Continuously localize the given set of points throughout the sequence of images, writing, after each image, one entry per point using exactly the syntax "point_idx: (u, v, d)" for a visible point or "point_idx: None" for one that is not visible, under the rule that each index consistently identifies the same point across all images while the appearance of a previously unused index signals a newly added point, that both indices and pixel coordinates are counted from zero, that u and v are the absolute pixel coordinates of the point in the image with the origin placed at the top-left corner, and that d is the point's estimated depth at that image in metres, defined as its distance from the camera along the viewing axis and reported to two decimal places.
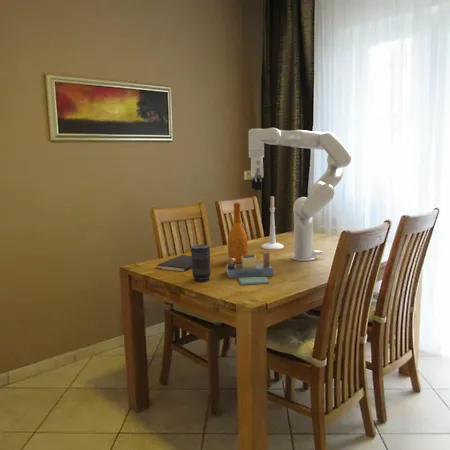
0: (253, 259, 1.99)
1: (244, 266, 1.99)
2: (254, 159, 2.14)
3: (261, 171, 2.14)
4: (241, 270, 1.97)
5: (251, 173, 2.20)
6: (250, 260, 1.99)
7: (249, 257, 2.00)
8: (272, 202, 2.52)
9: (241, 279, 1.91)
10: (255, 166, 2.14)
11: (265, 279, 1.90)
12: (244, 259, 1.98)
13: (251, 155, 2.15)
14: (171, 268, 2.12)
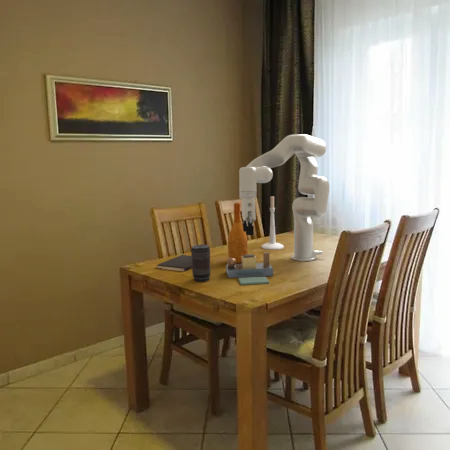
0: (253, 259, 1.99)
1: (244, 266, 1.99)
2: (245, 201, 1.93)
3: (253, 214, 1.93)
4: (241, 270, 1.97)
5: (242, 215, 1.99)
6: (250, 260, 1.99)
7: (249, 257, 2.00)
8: (272, 202, 2.52)
9: (241, 279, 1.91)
10: (246, 209, 1.92)
11: (265, 279, 1.90)
12: (244, 259, 1.98)
13: (242, 196, 1.94)
14: (171, 268, 2.12)
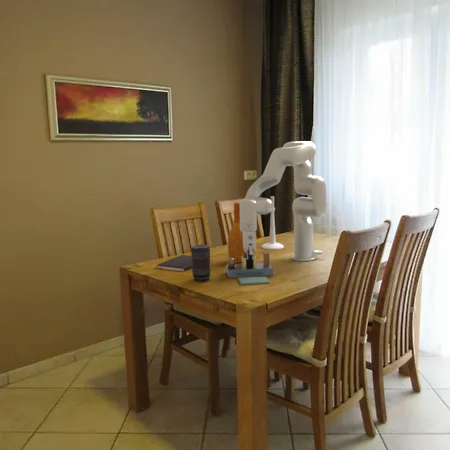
0: None
1: (244, 266, 1.99)
2: (246, 233, 1.95)
3: (254, 246, 1.95)
4: (241, 270, 1.97)
5: (243, 246, 2.02)
6: None
7: None
8: (272, 202, 2.52)
9: (241, 279, 1.91)
10: (247, 241, 1.95)
11: (265, 279, 1.90)
12: (244, 259, 1.98)
13: (243, 229, 1.96)
14: (171, 268, 2.12)
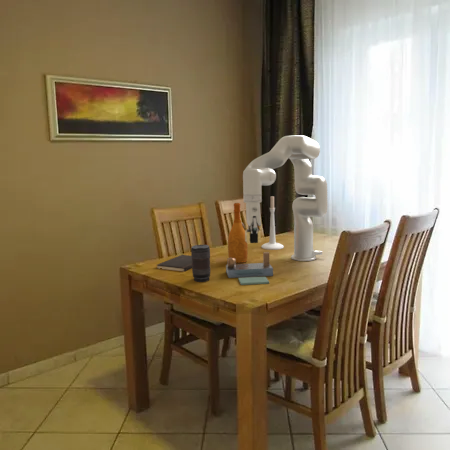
0: None
1: (248, 241, 1.85)
2: (250, 205, 1.81)
3: (258, 219, 1.81)
4: (241, 270, 1.97)
5: None
6: None
7: None
8: (272, 202, 2.52)
9: (241, 279, 1.91)
10: (251, 213, 1.81)
11: (265, 279, 1.90)
12: (248, 233, 1.84)
13: (246, 200, 1.82)
14: (171, 268, 2.12)
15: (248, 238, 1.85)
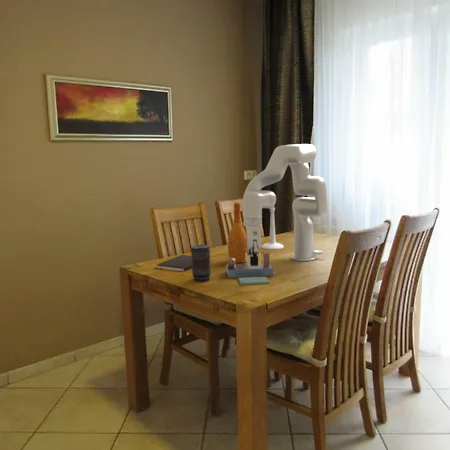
0: (258, 256, 1.86)
1: (248, 264, 1.86)
2: (250, 229, 1.82)
3: (259, 243, 1.82)
4: (241, 270, 1.97)
5: (247, 243, 1.89)
6: None
7: None
8: None
9: (241, 279, 1.91)
10: (251, 237, 1.82)
11: (265, 279, 1.90)
12: (248, 256, 1.85)
13: (247, 223, 1.83)
14: (171, 268, 2.12)
15: (248, 261, 1.86)
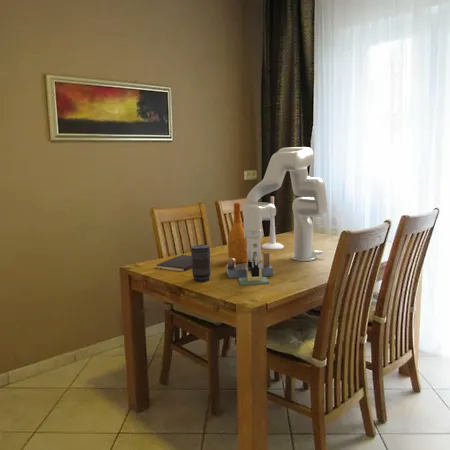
0: None
1: (248, 280, 1.87)
2: (250, 241, 1.83)
3: (259, 255, 1.83)
4: (241, 270, 1.97)
5: (247, 254, 1.90)
6: None
7: None
8: (272, 202, 2.52)
9: (241, 279, 1.91)
10: (252, 249, 1.83)
11: (265, 279, 1.90)
12: (248, 272, 1.87)
13: (247, 236, 1.84)
14: (170, 268, 2.12)
15: (249, 277, 1.87)
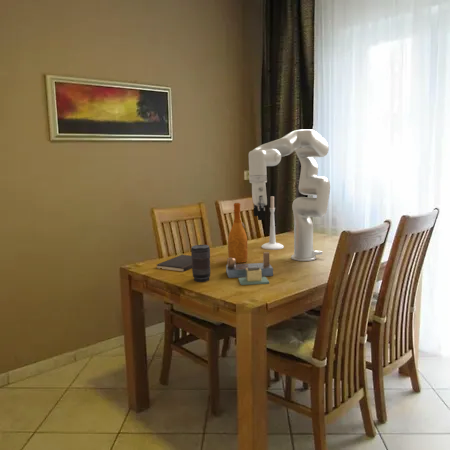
0: (258, 272, 1.87)
1: (248, 280, 1.87)
2: (256, 185, 1.89)
3: (264, 198, 1.89)
4: (241, 270, 1.97)
5: (253, 200, 1.96)
6: (255, 273, 1.87)
7: (254, 270, 1.88)
8: (272, 202, 2.52)
9: (241, 279, 1.91)
10: (257, 193, 1.89)
11: (265, 279, 1.90)
12: (248, 272, 1.87)
13: (252, 181, 1.90)
14: (170, 268, 2.12)
15: (249, 277, 1.87)
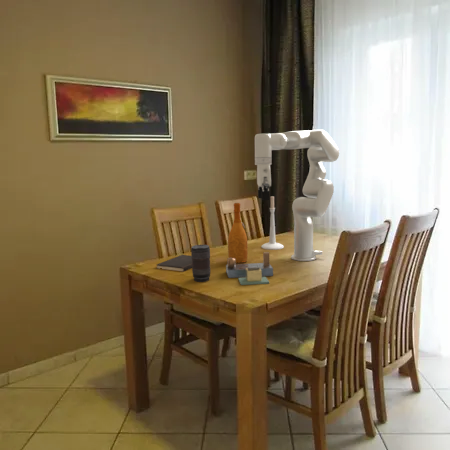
0: (258, 272, 1.87)
1: (248, 280, 1.87)
2: (261, 167, 1.97)
3: (269, 180, 1.97)
4: (241, 270, 1.97)
5: (257, 182, 2.04)
6: (255, 273, 1.87)
7: (254, 270, 1.88)
8: (272, 202, 2.52)
9: (241, 279, 1.91)
10: (262, 174, 1.97)
11: (265, 279, 1.90)
12: (248, 272, 1.87)
13: (258, 162, 1.98)
14: (170, 268, 2.12)
15: (249, 277, 1.87)
